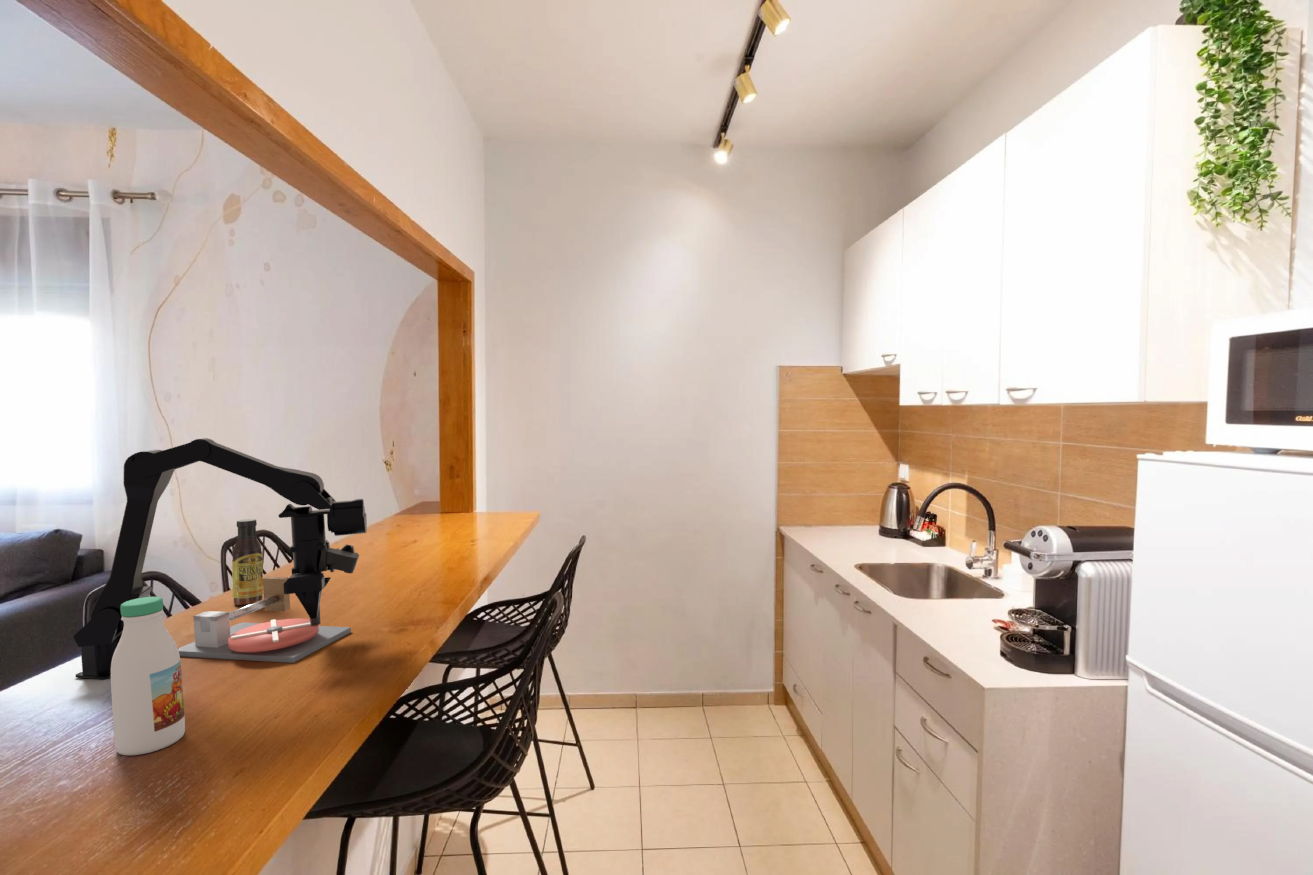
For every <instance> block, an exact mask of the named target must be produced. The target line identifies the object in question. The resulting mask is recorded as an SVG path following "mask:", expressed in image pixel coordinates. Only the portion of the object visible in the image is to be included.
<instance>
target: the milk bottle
mask: <svg viewBox="0 0 1313 875" xmlns="http://www.w3.org/2000/svg"><path fill="white" fill-rule="evenodd" d="M163 600H164V599H163V597H161V596H149V597H143V598H138V599H133V600H129V601H127V602H124V603H123V604H121V607H120V609H121V615H122V618H121V620H122V621H124V628H123V632H122V635H121V638H120V641H119V643H118V645H117V647H116V649H115V652H114V654H113V657H112V662H111V677H110V690H111V706H112V708H111V710H112V721H113V734H114V745H115V746H114V747H115V751H116V752H117V753H118V754H119V755H121V756H139V755H144V754H150V753H154V752H156V751H159V750H162V749H164V748H167V747H169V746H171V745H173V744H175V743H176V742H178V741H179V740H180V739H182V738H183V737H184V734H185V731H186V718H185V703H184V702H185V701H184V688H183V676H182V674H183V673H182V663H181V656H180V655H179V651H178V648H179V647H178V645H177V642H176V641H175V640H174V638H173V636H172V635H171V633H170V632H169V631H168V629H167V627H166V626H165V622H164V620H163V617H162V616H163V614H164V601H163Z"/></svg>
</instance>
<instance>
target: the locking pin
mask: <svg viewBox="0 0 1313 875" xmlns="http://www.w3.org/2000/svg"><path fill="white" fill-rule="evenodd" d="M288 578H289V576H267V577H266V576H265V577H263V599H262V600H261V601H258V602H256V603H253V604H249V605H244V606H243V607H241V608H238V609H235V610H233V611H230V612H229V621H233V620H236V619H238V618H241V617H243V616H247V615H249V614H251V613H253V612H257V611H259V610H262V609H264V611H265V612H266V611H267V612H268V611H269V612H270V611H271V612H273V611H274V612H286V611H289V610H291V600H290V596H291V595H290V594H284V585H283V584H284V583H285V582H286V580H287V579H288Z"/></svg>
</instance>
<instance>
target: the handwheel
mask: <svg viewBox="0 0 1313 875" xmlns="http://www.w3.org/2000/svg"><path fill="white" fill-rule="evenodd" d="M320 607H321V606H320V604H319V609H318V615H317V618H315V619H311V618H310V617H309V618H285V619H275V618H274V619H270V621H267V622H260V623H261V624H257V625H253V626H250V627H247V628H244V629H242V630H239V631H237V632H235V633H234V634H232V635H231V636H230V637H229V638H228V647H229V649H231V650H233V651H237V652H262V651H270V650H276V649H280V648H285V647H289V646H292V645H296V644H299V643H301V642H304V641H306V640H309V639H310V638H312V637H314V636H315V635H316V634H317V633H318V631H319V627H318V626H320V625H321V608H320Z"/></svg>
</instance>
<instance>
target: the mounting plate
mask: <svg viewBox="0 0 1313 875" xmlns="http://www.w3.org/2000/svg"><path fill="white" fill-rule="evenodd" d="M229 613H230V612H229V611H216V610H215V611H213V610H207V611H203V612H200V613H198V614H196V615H193V616H192V617H193V629H194V641H193V642H191V643H188V644H185V645H183V646H181V647H178V651H179V655H180V657H183V658H184V657H187V658H201V659H203V658H205V659H220V660H237V661H239V660H240V661H254V662H255V661H256V662H257V661H259V662H272V663H273V662H274V663H289V664H291V663H292V664H294V663H296V662H298V661H299V660H301V659H303V658H305V657H308V656H309V655H312V653H315V652H316V651H318V650H320V649H322V648H324V647H326V646H328V645H330V644H331V643H334V642H335V641H337V640H339V639H341V638H342V637H345V636H346V635H348V634H351V632H352V629H351V627H349V626H331V625H330V626H329V625H328V626H327V625H318V627H319V631H318V633H317V634H316V635H315V636H314V637H312V638H310V639H309V640H306V641H304V642H301V643H299V644H296V645H292V646H289V647H285V648H280V649H276V650H270V651H262V652H237V651H233V650H231V649H229V647H228V638H229V637H230V636H231V635H232V634H234V633H235V632H237V631H239V630H242V629H244V628H247V627H250V626H253V625H257V624H261V623H262V622H239V623H237V624H234V625H232V626H231V624H230V623H231V622H230V620H229Z"/></svg>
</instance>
